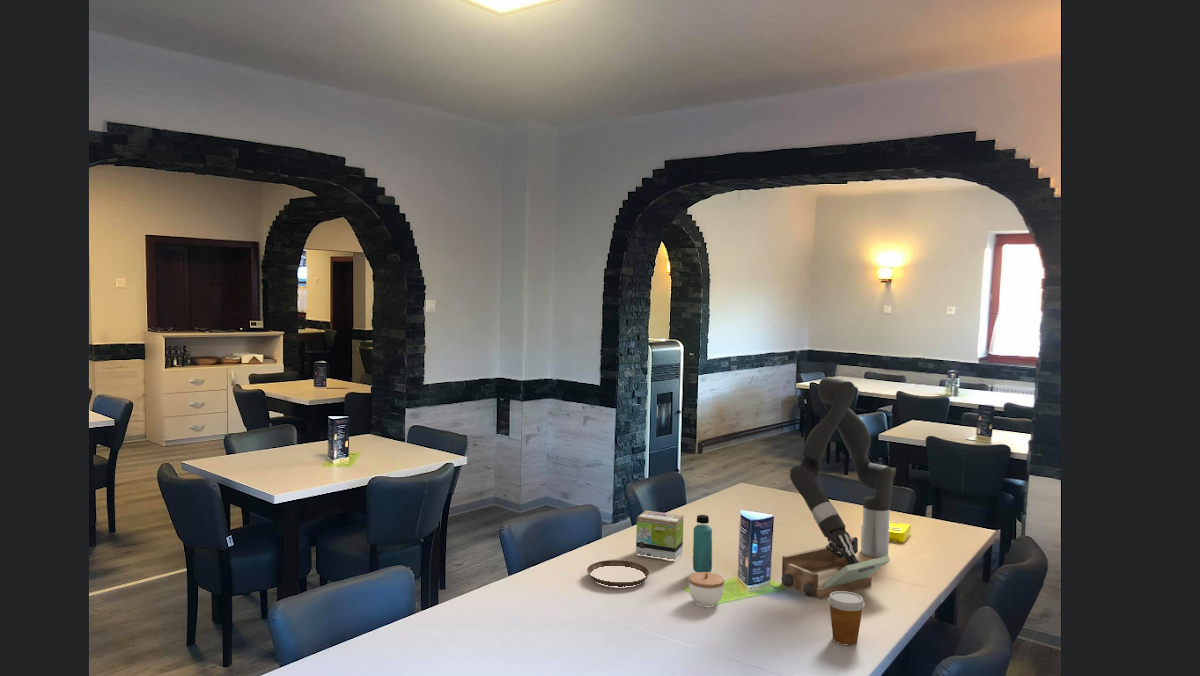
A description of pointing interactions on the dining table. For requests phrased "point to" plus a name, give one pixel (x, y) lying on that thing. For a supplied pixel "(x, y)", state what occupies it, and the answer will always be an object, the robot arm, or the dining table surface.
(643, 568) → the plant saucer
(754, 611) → the dining table surface
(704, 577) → the lidded jar
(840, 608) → the disposable coffee cup
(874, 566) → the panel
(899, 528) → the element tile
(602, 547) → the dining table surface
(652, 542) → the tea box
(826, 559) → the drawer box
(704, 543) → the beverage bottle
